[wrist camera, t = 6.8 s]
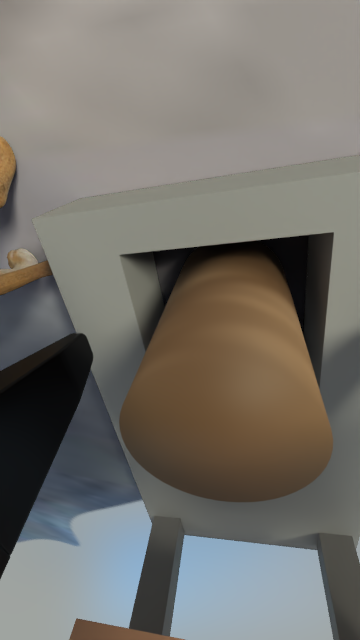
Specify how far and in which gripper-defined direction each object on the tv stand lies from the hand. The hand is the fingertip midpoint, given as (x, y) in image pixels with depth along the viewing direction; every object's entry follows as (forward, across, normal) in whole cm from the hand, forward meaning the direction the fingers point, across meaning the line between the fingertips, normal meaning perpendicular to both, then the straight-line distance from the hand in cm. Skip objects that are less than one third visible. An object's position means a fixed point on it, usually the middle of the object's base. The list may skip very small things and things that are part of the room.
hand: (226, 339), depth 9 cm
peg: (+3, 0, 0) cm, 3 cm away
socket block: (+3, 0, +5) cm, 6 cm away
